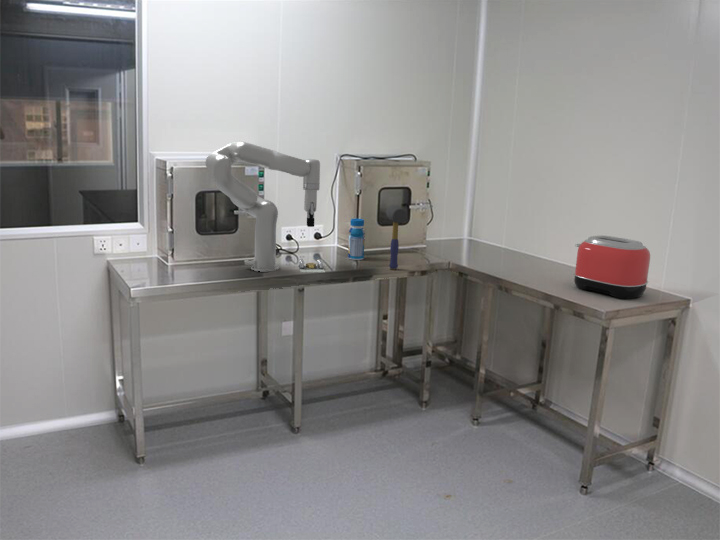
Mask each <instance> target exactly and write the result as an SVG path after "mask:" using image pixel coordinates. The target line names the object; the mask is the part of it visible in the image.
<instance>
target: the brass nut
mask: <svg viewBox="0 0 720 540" xmlns="http://www.w3.org/2000/svg"><path fill="white" fill-rule="evenodd" d="M305 266H306V268H309V269H314V268H316V266H317V264H316V263H315V262H307V263H306V264H305Z"/></svg>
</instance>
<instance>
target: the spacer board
mask: <svg viewBox="0 0 720 540" xmlns="http://www.w3.org/2000/svg"><path fill="white" fill-rule="evenodd" d="M298 269H299V271H300V273H325V272H326V271H325V269H324V268H323V269H319V268H318V266H317V265H316V268H314V269H309V268H306V265H304V269H300V266H299V265H298Z"/></svg>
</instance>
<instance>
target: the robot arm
mask: <svg viewBox="0 0 720 540" xmlns="http://www.w3.org/2000/svg"><path fill="white" fill-rule="evenodd" d="M237 162H242V163H245V164H249V165H253V166H257V167H259V168H263V169H267V170H270V171H278V172H282V173H286V174H289V175H292V176H296V177H300V178H302V190H304V200H303V201H304V205H303V210H304V211H305V212H306V214H307V216H306V226H307V228H308V227H310V228H313V227H315V212H316V211H317V202H318V201H317V199H318V191H320V182H321V181H320V178H321V174H320V173H321V163H320V160H319V159H311V158H310V159H309V158H308V159H301V158H299V157H295V156H291V155H287V154H285V153H281V152H279V151H276V150H274V149H270V148H266V147H262V146H259V145H257V144H252V143H249V142H246V141H240V140H236V141H235V140H234V141H233V142H230V143H228V144H227V145H225V146H223V147H221V148H219V149H216V150H215V151H214V152H211V153H210V154H209V155H207V156H206V159H205V167H206V169H207V170H208V171H209V172H211V173H212V177H213V178H212V179H213V182H214V184H215V186H216V188H217V189H218V190H219V191H220V192H221V193H223V194H224V195H225V196H227V197H228V198H229V199H230V201H231V202H232V203H233V205H235V206H236V207H237V208H239V209H241V210H242V211H243V212H244V213H247V214H248V215H249V216H251V217H253V219H254V218H255V220H256V221H255V224H254V258H253V259H251V260H245V259H244V265H247V266H251V268H250V269H251V270H252V271H253V270H254V271H253V272H258V271H260V273H268V272H274V271H278V270H280V266H279V265H277V263H276V262H277V258H276V256H277V223H278V218H279V217H278V215H279V211H278V207H277V206H276V204H275V203H274V202H273V201H271V200H269V199H265V198H262V197H261V196H259V195H258V194H257V192H256V191H255V190H254V189H253V188H252V187H250V186H248V185H246V184H245V183H243V182H242V181H240V180H239V179H238V178H236V176H234V174H233V172H232V171H233V170H232V166H233V164H235V163H237Z"/></svg>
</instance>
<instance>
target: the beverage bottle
mask: <svg viewBox="0 0 720 540" xmlns="http://www.w3.org/2000/svg"><path fill="white" fill-rule="evenodd" d="M364 226H365V220H364V219H363V218H351V219H350V228H349V230H348V234H349V235H348V238H347V239H348V249H347V259H349V260H350V261H351V260H352V261H363V260H364V259H365V241H366V236H365V235H366V231H365V229H364Z"/></svg>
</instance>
